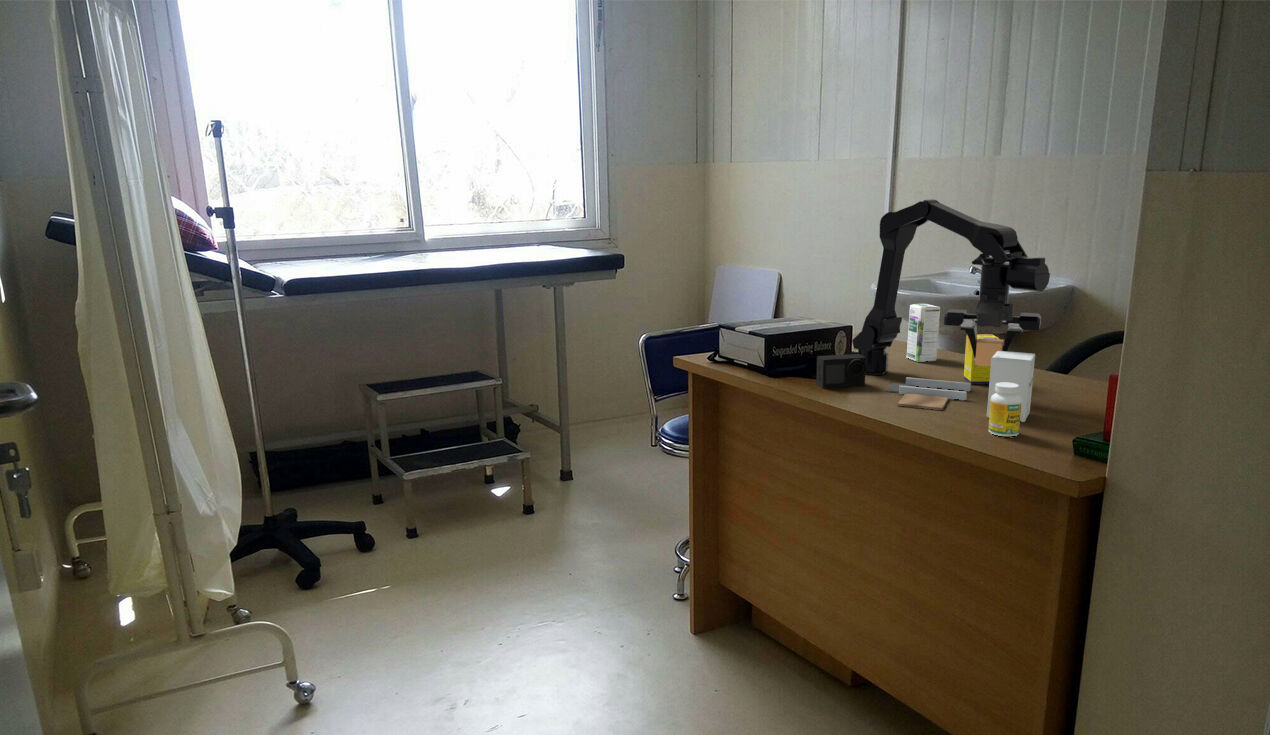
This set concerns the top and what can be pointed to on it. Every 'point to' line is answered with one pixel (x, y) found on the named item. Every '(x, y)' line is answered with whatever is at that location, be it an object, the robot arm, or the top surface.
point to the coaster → (923, 401)
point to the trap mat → (896, 387)
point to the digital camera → (841, 371)
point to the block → (987, 350)
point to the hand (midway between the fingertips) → (989, 358)
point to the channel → (936, 384)
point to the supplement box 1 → (976, 372)
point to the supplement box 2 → (1013, 376)
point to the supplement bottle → (1005, 410)
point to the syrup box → (923, 332)
